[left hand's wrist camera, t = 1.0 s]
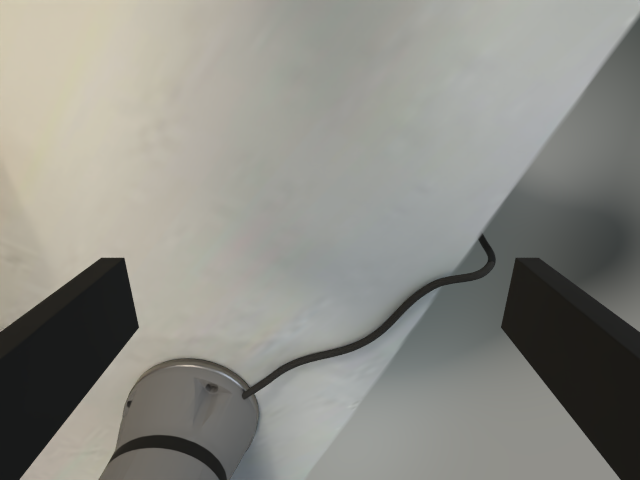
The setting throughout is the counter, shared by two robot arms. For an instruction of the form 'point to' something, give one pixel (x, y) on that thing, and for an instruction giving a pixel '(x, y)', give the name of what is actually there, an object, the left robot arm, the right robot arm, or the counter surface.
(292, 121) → the counter surface
